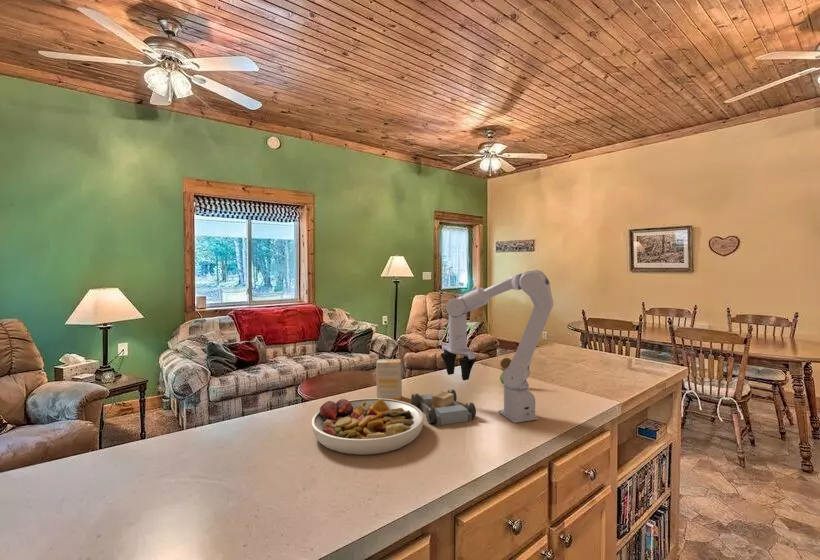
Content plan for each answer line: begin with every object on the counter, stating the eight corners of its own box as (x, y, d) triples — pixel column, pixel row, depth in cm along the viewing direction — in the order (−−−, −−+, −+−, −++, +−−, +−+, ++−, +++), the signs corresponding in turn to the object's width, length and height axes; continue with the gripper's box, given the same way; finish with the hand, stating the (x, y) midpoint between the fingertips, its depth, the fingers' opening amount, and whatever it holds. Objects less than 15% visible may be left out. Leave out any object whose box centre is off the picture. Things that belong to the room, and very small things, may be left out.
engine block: (453, 409, 128) (453, 393, 128) (443, 414, 124) (443, 398, 123) (441, 406, 131) (441, 391, 131) (431, 411, 126) (431, 395, 126)
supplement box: (402, 396, 142) (401, 358, 142) (400, 400, 138) (400, 362, 137) (378, 395, 143) (378, 358, 143) (376, 400, 138) (375, 361, 138)
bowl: (434, 419, 122) (433, 393, 122) (406, 467, 93) (405, 433, 93) (341, 410, 130) (341, 385, 130) (289, 452, 101) (288, 421, 101)
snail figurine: (518, 387, 151) (518, 355, 150) (501, 387, 151) (501, 355, 151) (515, 383, 156) (515, 351, 156) (498, 383, 156) (498, 352, 156)
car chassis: (476, 420, 120) (476, 405, 120) (431, 426, 116) (431, 411, 116) (450, 399, 138) (450, 387, 138) (410, 404, 134) (410, 391, 134)
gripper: (482, 337, 127) (482, 380, 128) (453, 330, 140) (453, 370, 140) (464, 339, 124) (465, 384, 124) (436, 332, 136) (437, 373, 137)
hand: (458, 376), depth 132 cm, fingers open, 7 cm apart
